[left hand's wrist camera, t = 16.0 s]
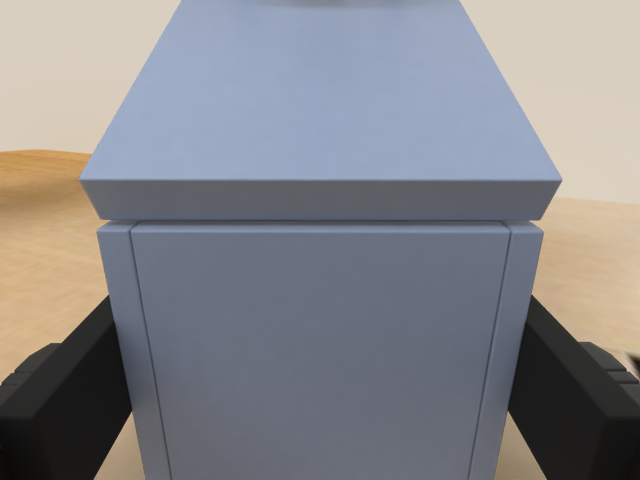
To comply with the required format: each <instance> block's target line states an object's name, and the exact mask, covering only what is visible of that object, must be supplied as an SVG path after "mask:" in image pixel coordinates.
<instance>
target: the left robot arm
mask: <svg viewBox="0 0 640 480" xmlns="http://www.w3.org/2000/svg"><path fill="white" fill-rule="evenodd" d="M508 411H509V413H510V415H511V416H512V418H513V420H514V422H515V424H516V425H517V427H518V429H519V431H520V432H521V434H522V436H523V438H524V439H525V441H526V443H527V445H528V447H529V448H530V450H531V452H532V454H533V455H534V457H535V459H536V461H537V463H538V464H539V466H540V468H541V470H542V471H543V473H544V475H545V477H546V479H547V480H640V383H639V380H638V379H637V378H635V377H634V376H633V375H632V374H631V373H630V372H627V370H626V368H625V367H624V366H623V365H622V364H621V363H620V362H619V361H618V360H617V359H616V358H614V357H613V356H612V355H611V354H610V353H608V352H606V351H605V350H603V349H601V348H599V347H598V346H596V345H594V344H593V343H591V342H577V341H576V340H575V339H574V338H573V337H572V335H571V334H570V333H569V332H568V331H567V330H566V329H565V328H564V327H563V326H562V325H561V324H560V323H559V322H558V321H557V320H556V319H555V318H554V317H553V316H552V315H551V314H550V313H549V312H548V311H547V310H546V309H545V308H544V307H543V306H542V305H541V304H540V303H539V302H538V301H537V300H536V298H535V297H534V296H533V295H532V294H531V298H530V303H529V308H528V313H527V318H526V322H525V327H524V332H523V337H522V342H521V347H520V352H519V357H518V362H517V367H516V372H515V377H514V382H513V387H512V392H511V397H510V401H509V406H508ZM131 412H132V406H131V401H130V396H129V391H128V386H127V381H126V376H125V371H124V366H123V361H122V356H121V351H120V346H119V341H118V336H117V331H116V326H115V321H114V317H113V312H112V307H111V302H110V297H109V295H108V296H107V297H106V298H105V299H104V300H103V301H102V302H101V303H100V304H99V305H98V306H97V307H96V308H95V309H94V310H93V311H92V312H91V313H90V314H89V315H88V316H87V317H86V318H85V320H84V321H83V322H82V323H81V324H80V325H79V326H78V327H77V328H76V329H75V330H74V331H73V332H72V333H71V334H70V335H69V336H68V337H67V338H66V339H65V340H64V341H63V342H62V343H50V344H49V345H47V346H45V347H44V348H42V349H40V350H39V351H37V352H35V353H33V354H32V355H30V356H29V357H28V358H27V359H26V360H25V361H24V362H23V363H22V364H21V365H20V366H18V367H17V368H16V369H15V372H14V373H11V374H10V375H9V376H8V377H7V378H6V379H5V380H4V381H3V382H2V385H1V386H0V480H93V479H94V478H95V476H96V474H97V472H98V470H99V469H100V467H101V465H102V463H103V462H104V460H105V458H106V456H107V454H108V453H109V451H110V449H111V447H112V446H113V444H114V442H115V440H116V438H117V437H118V435H119V433H120V431H121V430H122V428H123V426H124V424H125V422H126V421H127V419H128V417H129V415H130V414H131Z"/></svg>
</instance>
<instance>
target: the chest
mask: <svg viewBox="0 0 640 480" xmlns="http://www.w3.org/2000/svg"><path fill="white" fill-rule="evenodd" d="M543 235H544V233H543V230H541V229H540V228H539V227H537V226H536V225H534V224H533V223H531V222H530V221H528V220H111V221H109V222H108V223H106V224H105V225H103V226H102V227H101V228H99V229H98V230H97V237H98V242H99V247H100V252H101V257H102V262H103V267H104V272H105V277H106V282H107V287H108V292H109V297H110V302H111V307H112V312H113V317H114V321H115V326H116V331H117V336H118V341H119V346H120V351H121V356H122V361H123V366H124V371H125V376H126V381H127V386H128V391H129V396H130V401H131V406H132V412H133V417H134V422H135V428H136V433H137V438H138V443H139V448H140V453H141V458H142V463H143V468H144V473H145V478H146V480H494V475H495V470H496V465H497V460H498V456H499V451H500V446H501V441H502V436H503V431H504V426H505V421H506V416H507V411H508V406H509V401H510V397H511V392H512V387H513V382H514V377H515V372H516V367H517V362H518V357H519V352H520V347H521V342H522V337H523V332H524V327H525V322H526V318H527V313H528V308H529V303H530V298H531V293H532V289H533V284H534V279H535V274H536V269H537V264H538V259H539V254H540V249H541V244H542V239H543Z"/></svg>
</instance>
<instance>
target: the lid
mask: <svg viewBox="0 0 640 480" xmlns="http://www.w3.org/2000/svg"><path fill="white" fill-rule="evenodd" d="M79 181H80V183H81V185H82V186H83V188H84V190H85V192H86V194H87V195H88V197H89V199H90V201H91V203H92V205H93V206H94V208H95V210H96V212H97V214H98V215H99V217H100V219H102V220H540V219H541V218H542V216H543V214H544V213H545V211H546V209H547V207H548V205H549V204H550V202H551V200H552V198H553V196H554V195H555V193H556V191H557V189H558V187H559V186H560V184H561V182H562V178H561V176H560V174H559V172H558V171H557V169H556V167H555V166H554V164H553V162H552V160H551V158H550V157H549V155H548V153H547V152H546V150H545V148H544V146H543V145H542V143H541V141H540V139H539V138H538V136H537V134H536V132H535V131H534V129H533V127H532V126H531V124H530V122H529V120H528V119H527V117H526V115H525V113H524V112H523V110H522V108H521V106H520V105H519V103H518V101H517V100H516V98H515V96H514V94H513V93H512V91H511V89H510V87H509V86H508V84H507V82H506V80H505V79H504V77H503V75H502V74H501V72H500V70H499V69H498V67H497V65H496V63H495V61H494V60H493V58H492V56H491V55H490V53H489V51H488V49H487V48H486V46H485V44H484V42H483V41H482V39H481V37H480V36H479V34H478V32H477V30H476V29H475V27H474V25H473V23H472V22H471V20H470V18H469V16H468V15H467V13H466V11H465V10H464V8H463V6H462V4H461V3H460V1H459V0H181V2H180V4H179V6H178V7H177V9H176V11H175V13H174V14H173V16H172V18H171V19H170V21H169V23H168V25H167V26H166V28H165V30H164V32H163V33H162V35H161V37H160V38H159V40H158V42H157V44H156V45H155V47H154V49H153V51H152V52H151V54H150V56H149V58H148V59H147V61H146V63H145V64H144V66H143V68H142V70H141V71H140V73H139V75H138V77H137V78H136V80H135V82H134V84H133V85H132V87H131V89H130V90H129V92H128V94H127V96H126V97H125V99H124V101H123V103H122V104H121V106H120V108H119V109H118V111H117V113H116V115H115V116H114V118H113V120H112V122H111V123H110V125H109V127H108V128H107V130H106V132H105V134H104V135H103V137H102V139H101V141H100V142H99V144H98V146H97V148H96V149H95V151H94V153H93V154H92V156H91V158H90V160H89V161H88V163H87V165H86V167H85V168H84V170H83V172H82V173H81V175H80V177H79Z"/></svg>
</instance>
